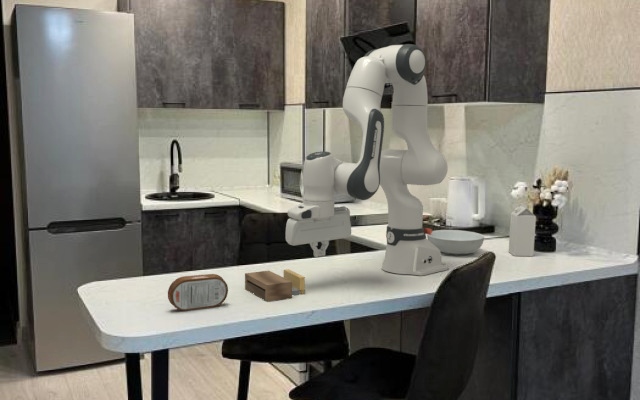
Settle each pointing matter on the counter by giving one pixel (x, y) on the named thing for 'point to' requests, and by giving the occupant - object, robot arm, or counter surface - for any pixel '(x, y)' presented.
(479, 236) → the serving bowl
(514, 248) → the milk carton
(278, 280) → the overhang shelf
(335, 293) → the counter surface
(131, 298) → the counter surface
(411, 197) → the robot arm
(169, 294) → the tin
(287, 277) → the grey board with lip
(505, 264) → the counter surface
